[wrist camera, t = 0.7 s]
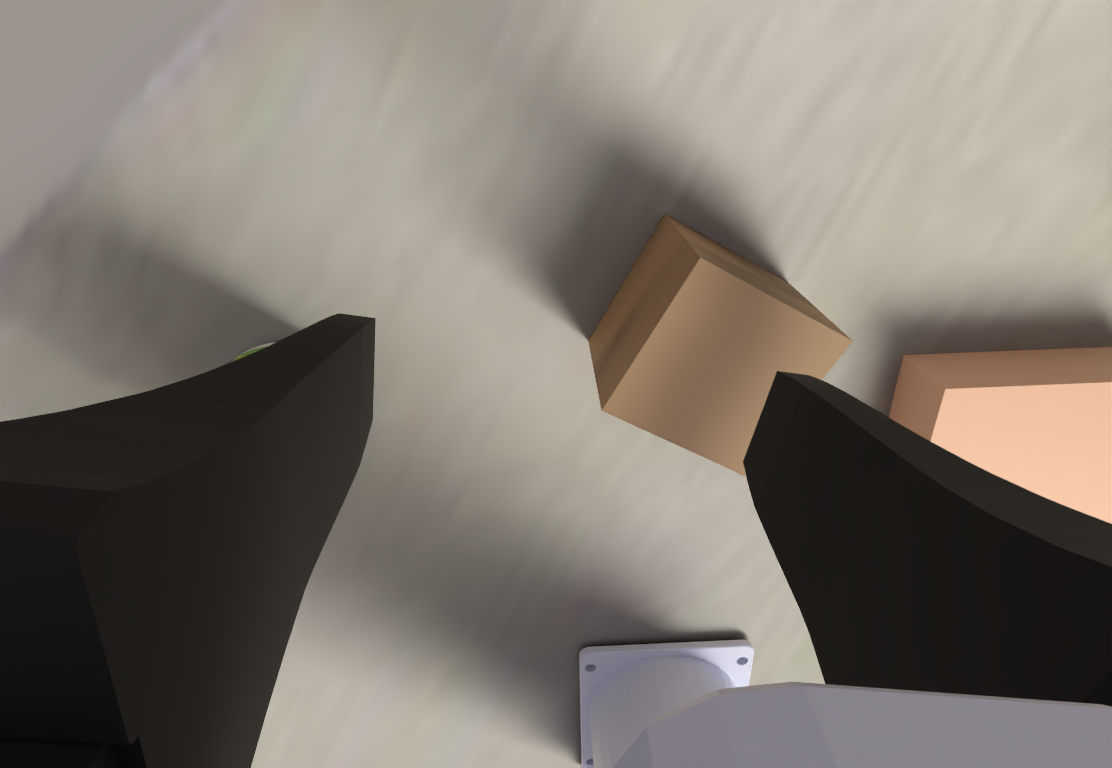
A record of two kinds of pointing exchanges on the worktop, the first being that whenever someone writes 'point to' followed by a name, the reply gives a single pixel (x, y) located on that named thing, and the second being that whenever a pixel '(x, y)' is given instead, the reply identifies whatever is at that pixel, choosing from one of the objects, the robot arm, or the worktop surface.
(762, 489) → the robot arm
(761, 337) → the walnut block
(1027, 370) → the base block
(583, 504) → the worktop surface
